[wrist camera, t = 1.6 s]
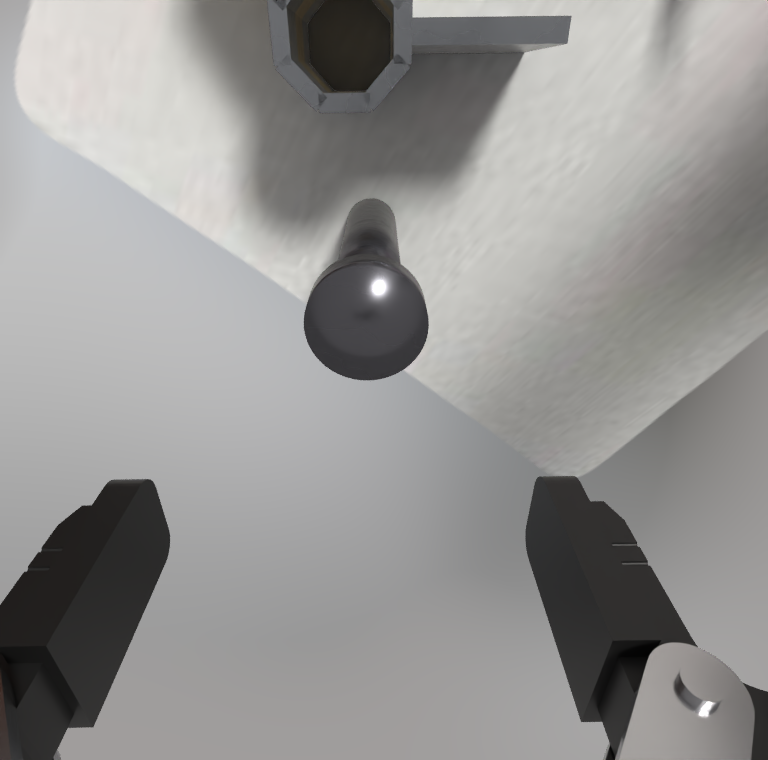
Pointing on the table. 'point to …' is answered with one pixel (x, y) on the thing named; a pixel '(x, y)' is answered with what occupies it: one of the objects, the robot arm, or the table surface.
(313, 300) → the hinge pin
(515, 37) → the hinge
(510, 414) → the table surface
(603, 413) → the table surface
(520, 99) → the table surface
